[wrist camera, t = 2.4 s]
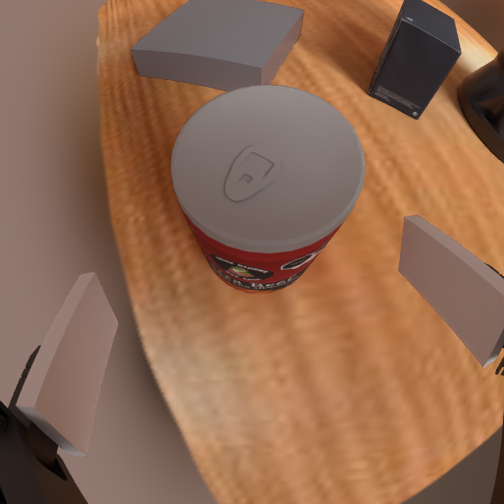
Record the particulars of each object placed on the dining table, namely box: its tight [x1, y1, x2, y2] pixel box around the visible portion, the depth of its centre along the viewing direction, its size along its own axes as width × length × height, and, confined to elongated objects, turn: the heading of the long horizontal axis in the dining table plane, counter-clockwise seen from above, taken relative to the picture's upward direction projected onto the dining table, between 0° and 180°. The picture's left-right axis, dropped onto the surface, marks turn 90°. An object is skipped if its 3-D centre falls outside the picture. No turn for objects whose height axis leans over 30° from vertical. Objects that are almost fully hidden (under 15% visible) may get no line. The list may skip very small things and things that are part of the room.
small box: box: [368, 0, 461, 120], centre depth 22 cm, size 11×6×10 cm, turn 154°
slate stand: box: [131, 0, 304, 92], centre depth 26 cm, size 14×14×4 cm
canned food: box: [171, 85, 365, 294], centre depth 16 cm, size 8×8×11 cm
